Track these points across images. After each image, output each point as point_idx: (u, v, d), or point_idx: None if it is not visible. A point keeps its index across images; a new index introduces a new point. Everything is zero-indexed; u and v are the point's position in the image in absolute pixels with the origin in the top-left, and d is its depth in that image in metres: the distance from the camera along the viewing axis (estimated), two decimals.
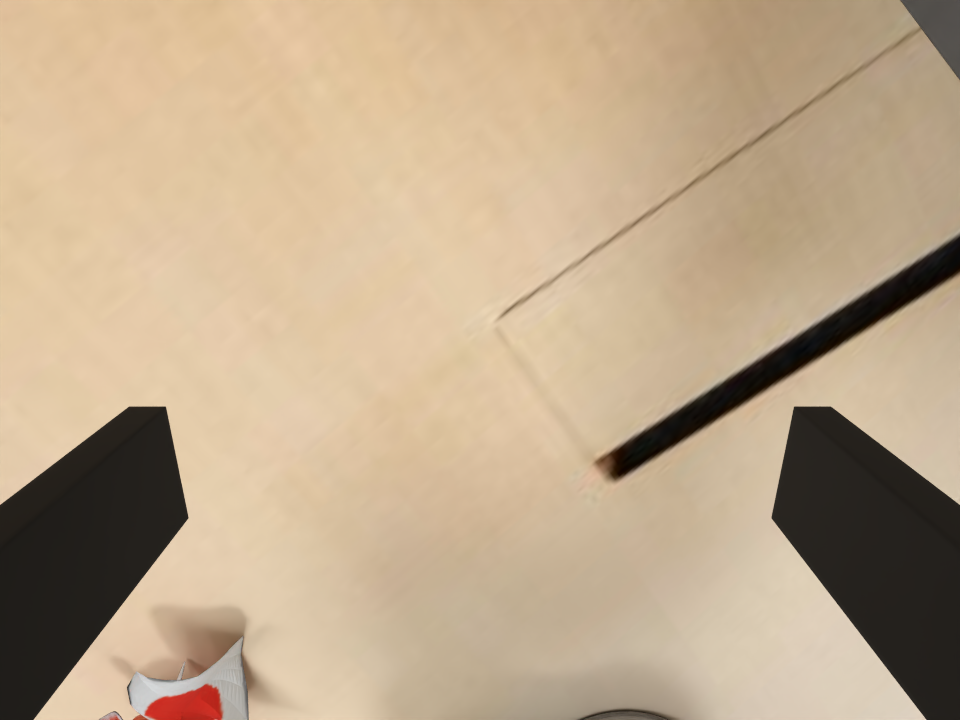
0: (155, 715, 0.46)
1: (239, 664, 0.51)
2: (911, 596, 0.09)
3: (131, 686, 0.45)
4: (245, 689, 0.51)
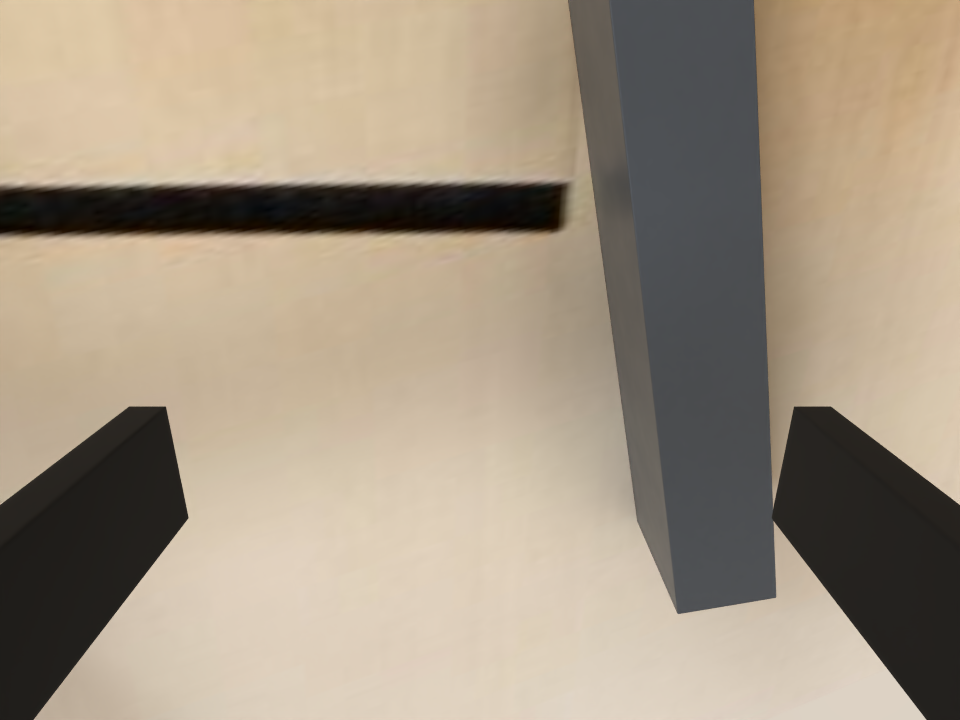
0: None
1: None
2: (913, 596, 0.09)
3: None
4: None
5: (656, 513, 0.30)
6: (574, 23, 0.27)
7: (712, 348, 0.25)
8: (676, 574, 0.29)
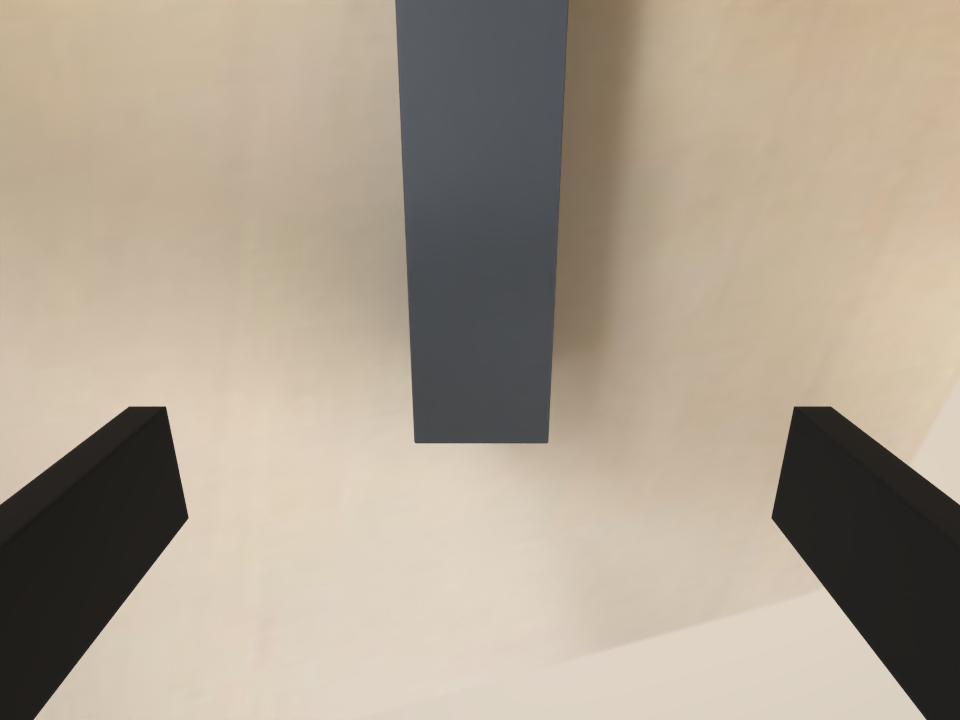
0: None
1: None
2: (912, 596, 0.09)
3: None
4: None
5: None
6: None
7: (488, 12, 0.17)
8: (416, 381, 0.21)
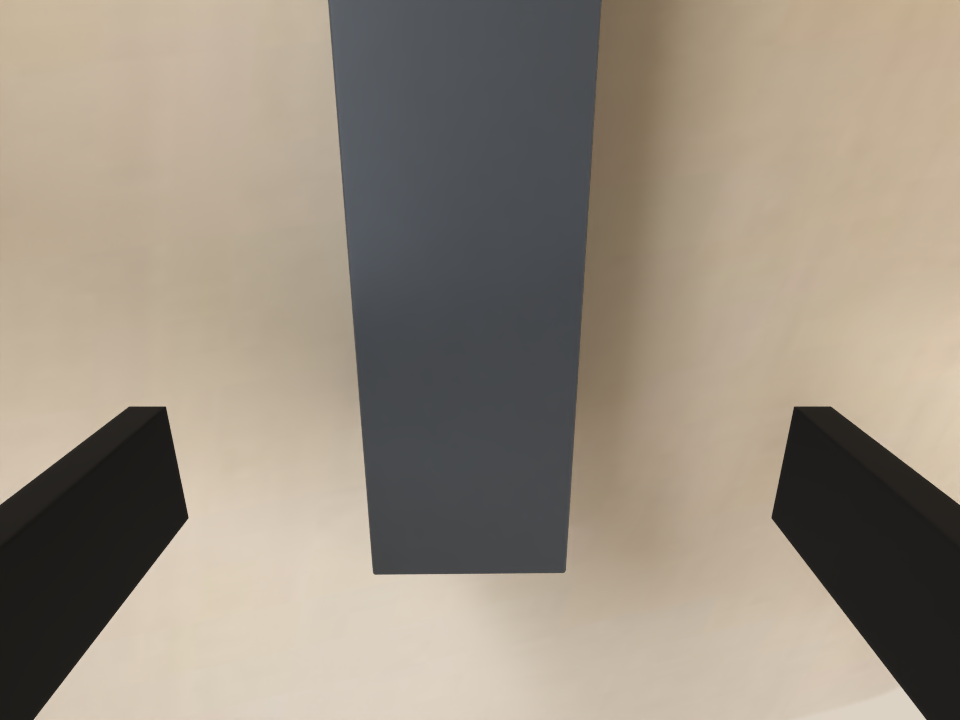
0: None
1: None
2: (912, 596, 0.09)
3: None
4: None
5: None
6: None
7: None
8: (373, 491, 0.14)
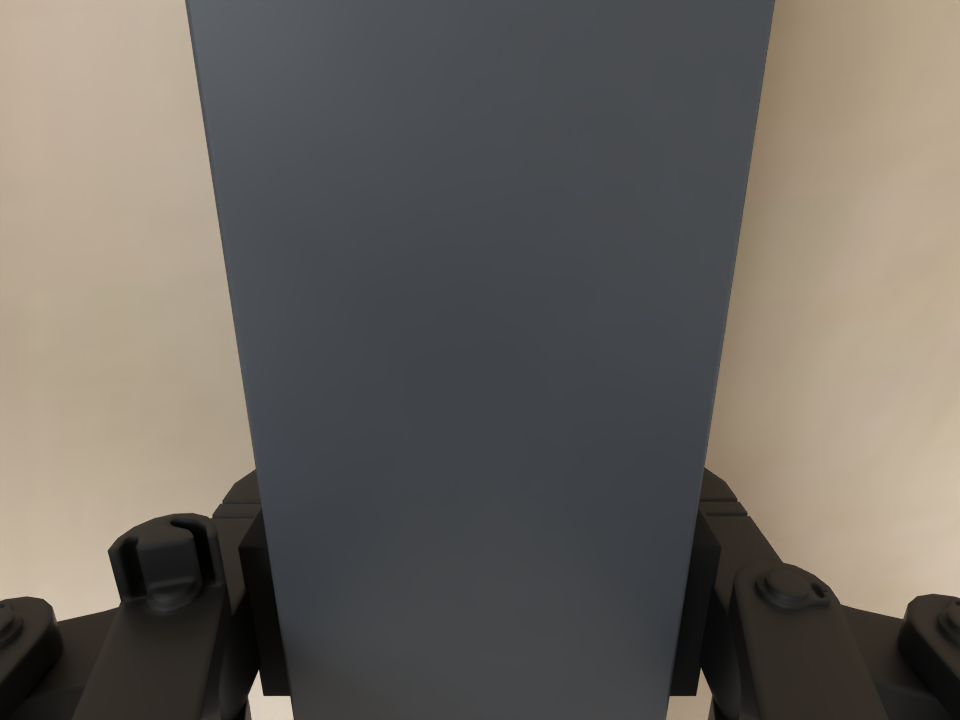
0: None
1: None
2: None
3: None
4: None
5: None
6: None
7: None
8: None
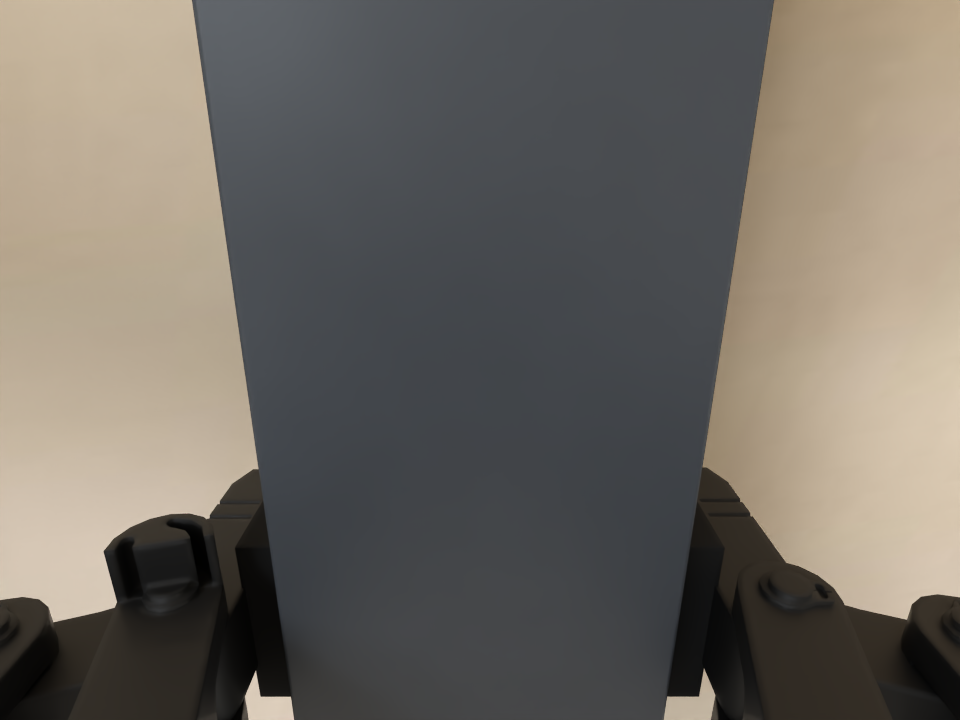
0: None
1: None
2: None
3: None
4: None
5: None
6: None
7: None
8: None
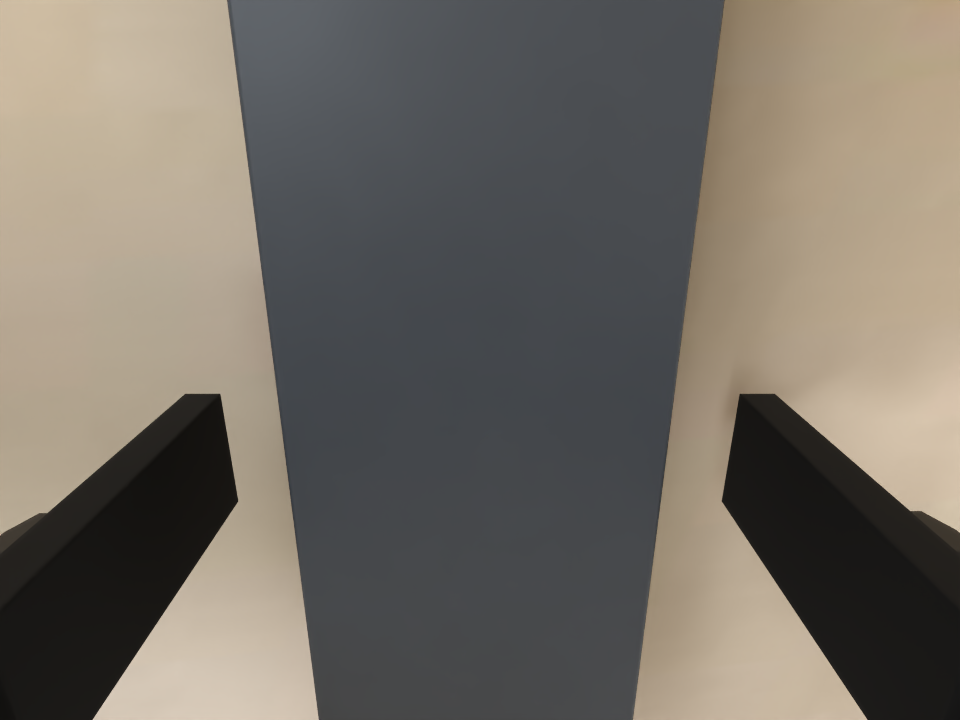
0: None
1: None
2: (830, 566, 0.09)
3: None
4: None
5: None
6: None
7: None
8: (324, 683, 0.09)
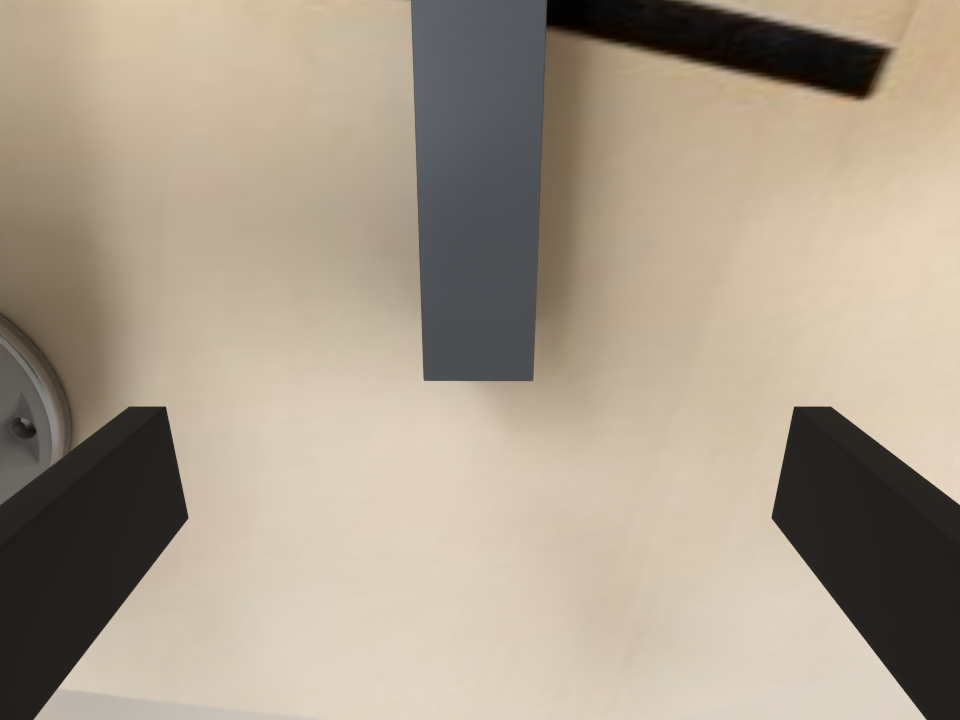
0: None
1: None
2: (912, 596, 0.09)
3: None
4: None
5: None
6: None
7: (484, 32, 0.22)
8: (425, 328, 0.26)
